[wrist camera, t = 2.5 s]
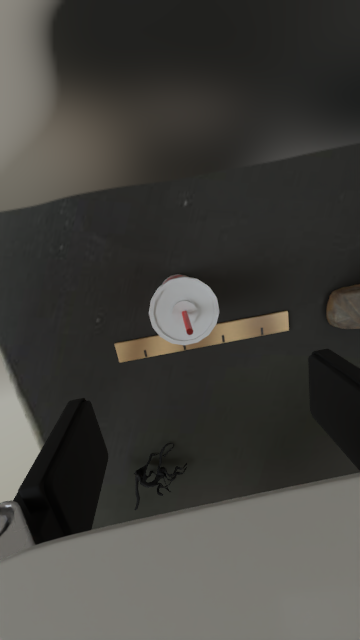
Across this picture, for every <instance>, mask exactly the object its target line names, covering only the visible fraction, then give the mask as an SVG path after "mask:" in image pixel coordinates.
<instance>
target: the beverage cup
mask: <svg viewBox="0 0 360 640" xmlns="http://www.w3.org/2000/svg"><path fill="white" fill-rule="evenodd" d="M218 315H219V307H218V301H217V298H216V296H215V295H214V293H213V292H212V290H211V288H210V287H209V286H207V285H206V284H204V283H203V282H201V281H200V280H198V279H196V278H191V277H188V276H186V275H181V274H176V275H172V276H170V277H168V278H167V279H166V280H164V282H163V284H162V285H161V286H160V287H158V289H157V291H156V292H155V294H154V295H153V297H152V299H151V303H150V309H149V316H150V320H151V324H152V327H153V328H154V330H155V331H156V332H157V333H158V335H159V336H160V337H161V338H163V339H165V340H166V341H168V342H170V343H172V344H179V345H189V344H193V343H198V342H199V341H201V340H202V339H204V338H205V337H207V336H208V335H209V334H210V333H211V331H212V330H213V328H214V327H215V326H216V324H217V319H218Z"/></svg>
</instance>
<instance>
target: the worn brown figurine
mask: <svg viewBox="0 0 360 640" xmlns="http://www.w3.org/2000/svg"><path fill="white" fill-rule="evenodd" d="M326 316H327V320H328V322H329V324H331V325H333V326H334V327H338V328H342V329H360V284H358V285H356V284H355V285H354V286H353V285H352V286H348V287H342V288H340V289H337V290H334V291H333V292H332V293H331V295H330V296H329V300H328V304H327V315H326Z"/></svg>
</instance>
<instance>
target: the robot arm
mask: <svg viewBox="0 0 360 640" xmlns="http://www.w3.org/2000/svg"><path fill="white" fill-rule="evenodd" d="M308 362H309V393H310V411H311V414H312V416H313V418H314V419H315V420H316V421H317V422H318V423H319V425H320V426H321V427H322V428H323V429H324V430H325V431H326V433H327V434H328V435H329V436H330V437H331V438H332V439H333V441H334V442H335V443H336V444H337V445H338V446H339V447H340V449H341V450H342V451H343V452H344V453H345V454H346V456H347V457H348V458H349V459H350V460H351V461H352V462H353V464H354V465H355V466H356V467H357V468H358V469H359V470H360V369H359V368H358V367H356V366H354V365H353V364H351V363H350V362H348V361H347V360H345V359H343V358H342V357H340V356H339V355H337V354H336V353H334V352H333V351H331V350H329V349H323V350H318V351H314V352H312V355H311V356H309V359H308ZM107 462H108V451H107V448H106V445H105V442H104V439H103V437H102V434H101V431H100V428H99V425H98V422H97V419H96V416H95V413H94V410H93V407H92V404H91V402H90V401H86V400H85V399H84V398H82V399H77V400H72V401H69V402H68V404H67V406H66V407H65V409H64V411H63V413H62V414H61V416H60V418H59V420H58V421H57V423H56V425H55V427H54V428H53V430H52V432H51V434H50V435H49V437H48V439H47V441H46V443H45V444H44V446H43V448H42V450H41V451H40V453H39V455H38V457H37V458H36V460H35V462H34V464H33V465H32V467H31V469H30V471H29V472H28V474H27V476H26V478H25V479H24V481H23V483H22V485H21V486H20V488H19V490H18V493H17V495H16V497H15V498H14V500H13V501H5V502H2V503H0V640H360V473H355V474H350V475H345V476H341V477H336V478H331V479H326V480H321V481H316V482H311V483H306V484H301V485H297V486H292V487H287V488H282V489H277V490H273V491H268V492H263V493H258V494H254V495H249V496H244V497H239V498H235V499H230V500H225V501H221V502H216V503H211V504H206V505H202V506H197V507H192V508H188V509H183V510H179V511H174V512H170V513H165V514H160V515H156V516H151V517H147V518H142V519H137V520H133V521H128V522H124V523H119V524H115V525H111V526H106V527H102V528H98V529H94V530H91V529H92V524H93V520H94V516H95V512H96V508H97V504H98V499H99V495H100V491H101V487H102V483H103V478H104V474H105V470H106V466H107Z"/></svg>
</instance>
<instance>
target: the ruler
mask: <svg viewBox="0 0 360 640" xmlns="http://www.w3.org/2000/svg"><path fill="white" fill-rule="evenodd" d="M288 330H289V321H288V311H281V312H276V313H271V314H265V315H260V316H255V317H250V318H244V319H239V320H234V321H229V322H223V323H218V324H216V326H215V327H214V328H213V330H212V331H211V333H210V334H209V335H208V336H207V337H205V338H204V339H202V340H201V341H199V342H198V343H193V344H189V345H179V344H172V343H170V342H168V341H166V340H165V339H163V338H161V337H160V336H159V335H155V336H150V337H144V338H139V339H134V340H129V341H123V342H118V343H115V348H116V351H117V355H118V359H119V362H120V363H121V362H126V361H131V360H136V359H142V358H147V357H152V356H157V355H163V354H168V353H173V352H178V351H184V350H189V349H194V348H199V347H204V346H210V345H215V344H220V343H225V342H231V341H236V340H241V339H246V338H252V337H257V336H262V335H267V334H273V333H278V332H283V331H288Z"/></svg>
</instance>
